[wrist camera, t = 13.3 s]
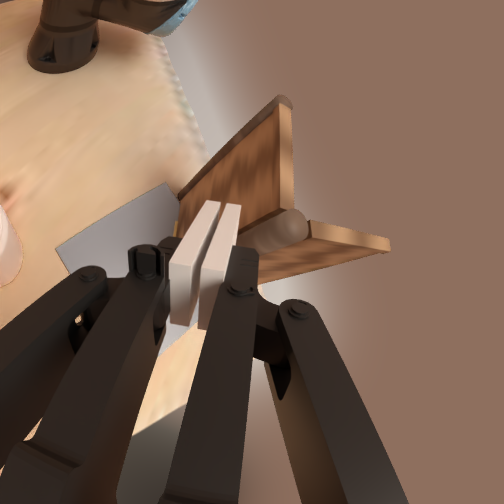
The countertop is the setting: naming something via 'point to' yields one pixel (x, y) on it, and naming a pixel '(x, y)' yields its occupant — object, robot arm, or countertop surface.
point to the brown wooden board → (319, 251)
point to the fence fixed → (252, 182)
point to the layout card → (128, 241)
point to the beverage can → (9, 250)
